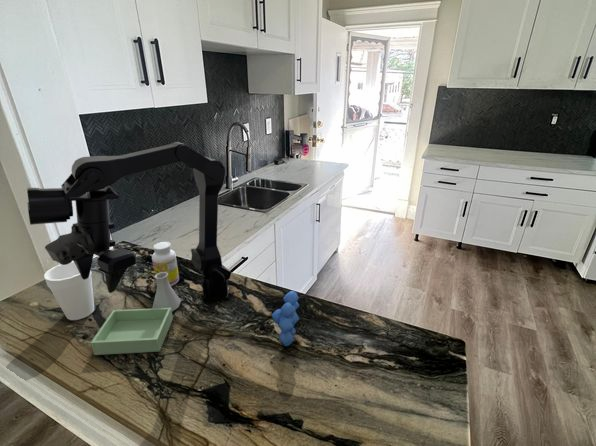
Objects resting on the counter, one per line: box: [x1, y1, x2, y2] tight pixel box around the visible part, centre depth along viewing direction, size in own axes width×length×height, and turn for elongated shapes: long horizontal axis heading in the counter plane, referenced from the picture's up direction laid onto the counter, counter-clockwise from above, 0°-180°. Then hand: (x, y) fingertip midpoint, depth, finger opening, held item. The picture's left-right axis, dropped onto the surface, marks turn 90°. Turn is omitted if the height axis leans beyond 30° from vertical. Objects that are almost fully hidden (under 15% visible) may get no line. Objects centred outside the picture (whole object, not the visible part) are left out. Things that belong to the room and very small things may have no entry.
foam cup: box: [43, 261, 95, 321], centre depth 81 cm, size 10×9×13 cm
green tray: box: [90, 308, 174, 356], centre depth 75 cm, size 14×11×4 cm
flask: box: [151, 272, 182, 312], centre depth 85 cm, size 7×7×10 cm
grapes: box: [271, 290, 300, 347], centre depth 74 cm, size 12×7×12 cm, turn 170°
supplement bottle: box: [151, 241, 180, 287], centre depth 95 cm, size 7×7×13 cm
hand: (98, 285), depth 70 cm, fingers open, 9 cm apart
